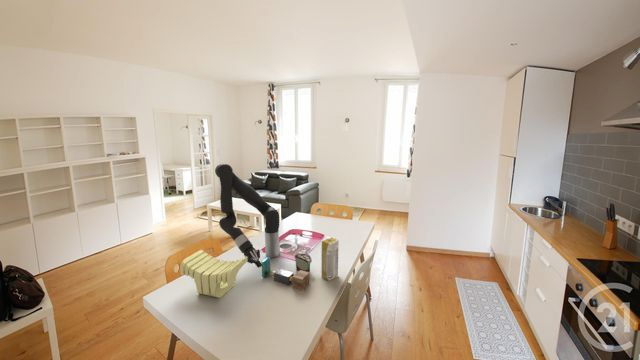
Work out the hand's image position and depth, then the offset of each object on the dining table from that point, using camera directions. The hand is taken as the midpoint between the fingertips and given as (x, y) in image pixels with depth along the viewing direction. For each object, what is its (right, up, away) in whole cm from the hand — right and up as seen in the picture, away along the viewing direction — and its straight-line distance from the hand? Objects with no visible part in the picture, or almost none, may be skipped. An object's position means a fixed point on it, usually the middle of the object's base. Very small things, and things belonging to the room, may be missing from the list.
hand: (260, 266), depth 162 cm
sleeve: (+15, -6, -6) cm, 17 cm away
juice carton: (+41, -6, -2) cm, 42 cm away
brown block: (+25, -7, -11) cm, 28 cm away
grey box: (+12, -6, -5) cm, 14 cm away
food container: (+26, -4, +5) cm, 27 cm away
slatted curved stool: (-20, -8, -15) cm, 26 cm away
